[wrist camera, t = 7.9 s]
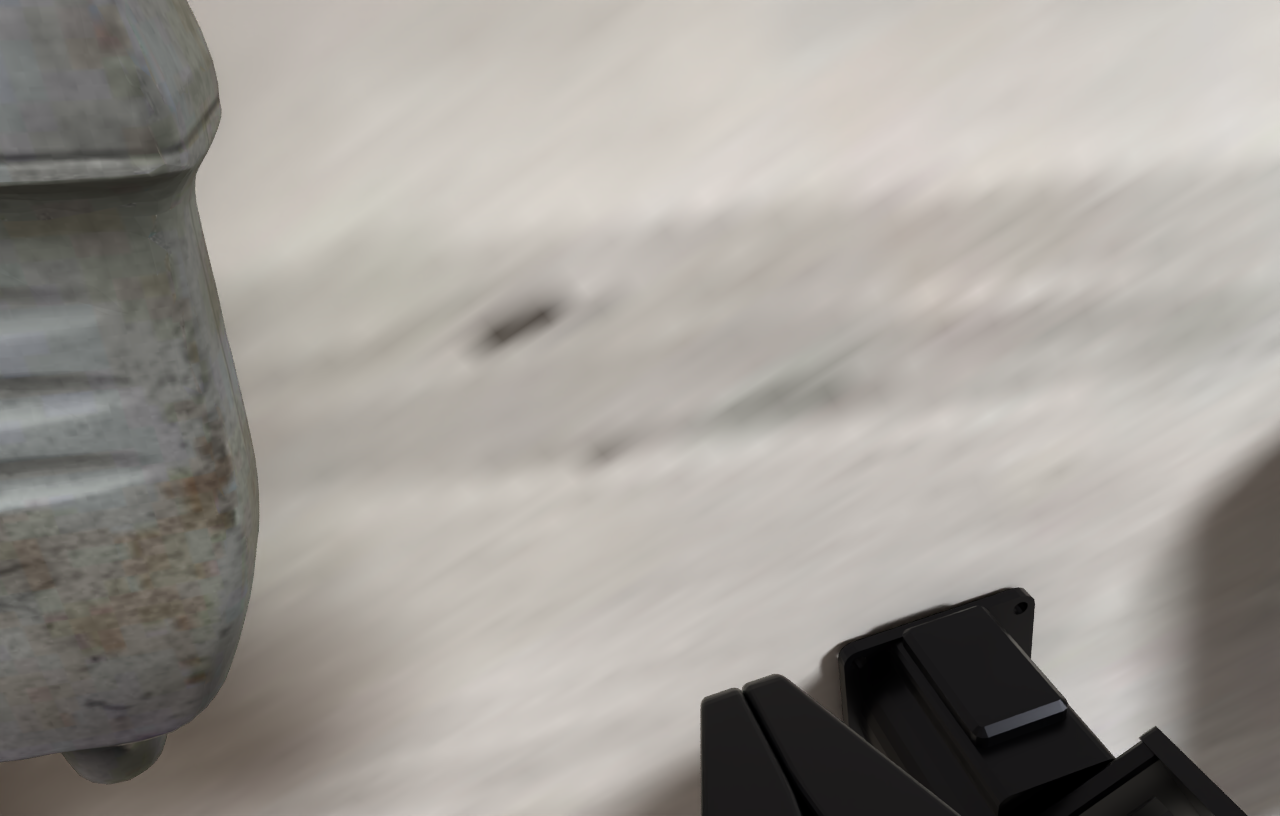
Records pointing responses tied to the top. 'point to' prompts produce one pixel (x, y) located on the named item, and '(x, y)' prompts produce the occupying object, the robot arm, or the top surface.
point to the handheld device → (113, 390)
